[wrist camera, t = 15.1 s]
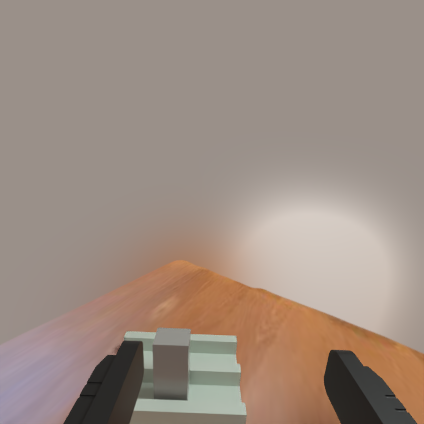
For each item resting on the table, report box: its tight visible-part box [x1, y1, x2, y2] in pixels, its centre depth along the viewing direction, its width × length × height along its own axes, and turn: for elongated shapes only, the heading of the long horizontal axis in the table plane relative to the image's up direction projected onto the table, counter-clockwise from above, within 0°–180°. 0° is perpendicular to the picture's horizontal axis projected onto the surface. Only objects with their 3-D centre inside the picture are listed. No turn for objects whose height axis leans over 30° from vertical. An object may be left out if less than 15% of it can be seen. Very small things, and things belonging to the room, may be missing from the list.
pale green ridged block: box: [124, 331, 247, 424], centre depth 36 cm, size 22×14×4 cm, turn 90°
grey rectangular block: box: [152, 328, 191, 401], centre depth 32 cm, size 5×3×12 cm, turn 90°
